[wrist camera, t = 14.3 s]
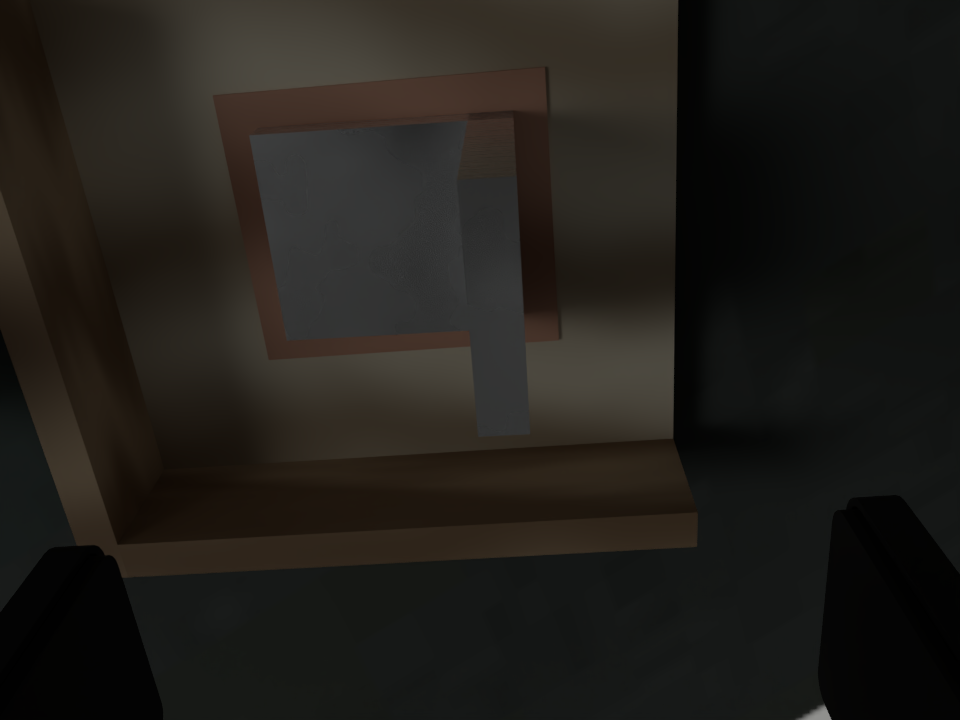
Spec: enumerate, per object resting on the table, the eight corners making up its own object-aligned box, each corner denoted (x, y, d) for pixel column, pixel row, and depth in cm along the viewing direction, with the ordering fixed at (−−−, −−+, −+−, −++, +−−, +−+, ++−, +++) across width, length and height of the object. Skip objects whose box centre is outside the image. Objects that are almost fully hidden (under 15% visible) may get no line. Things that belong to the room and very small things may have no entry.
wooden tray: (667, 453, 30) (696, 546, 25) (149, 484, 31) (89, 579, 26) (672, -71, 23) (713, -71, 18) (1, -8, 24) (-115, 8, 19)
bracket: (512, 110, 24) (516, 176, 18) (523, 314, 27) (530, 434, 20) (258, 127, 24) (173, 198, 18) (294, 326, 27) (230, 449, 21)
